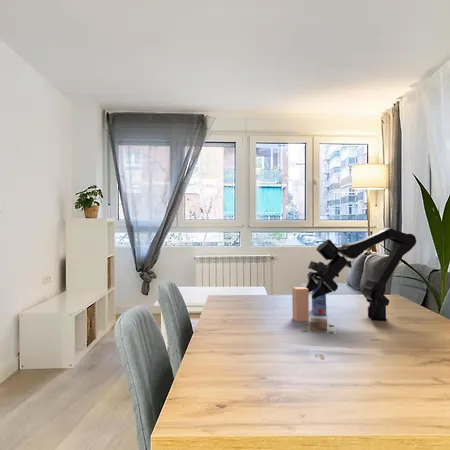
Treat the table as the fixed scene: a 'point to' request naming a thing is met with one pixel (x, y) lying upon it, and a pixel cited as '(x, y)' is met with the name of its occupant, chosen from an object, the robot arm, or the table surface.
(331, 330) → the baseplate
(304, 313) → the tall brick
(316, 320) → the short brick
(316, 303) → the ink cartridge box
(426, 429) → the table surface
